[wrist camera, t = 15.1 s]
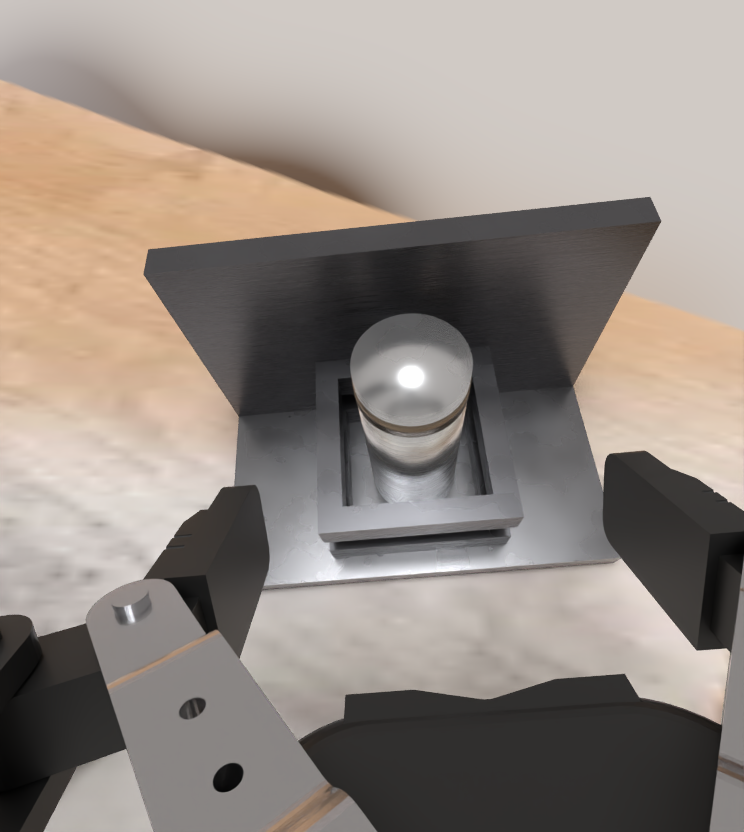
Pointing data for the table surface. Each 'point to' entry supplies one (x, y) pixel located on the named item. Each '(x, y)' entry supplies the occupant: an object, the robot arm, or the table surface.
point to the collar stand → (487, 403)
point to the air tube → (412, 403)
